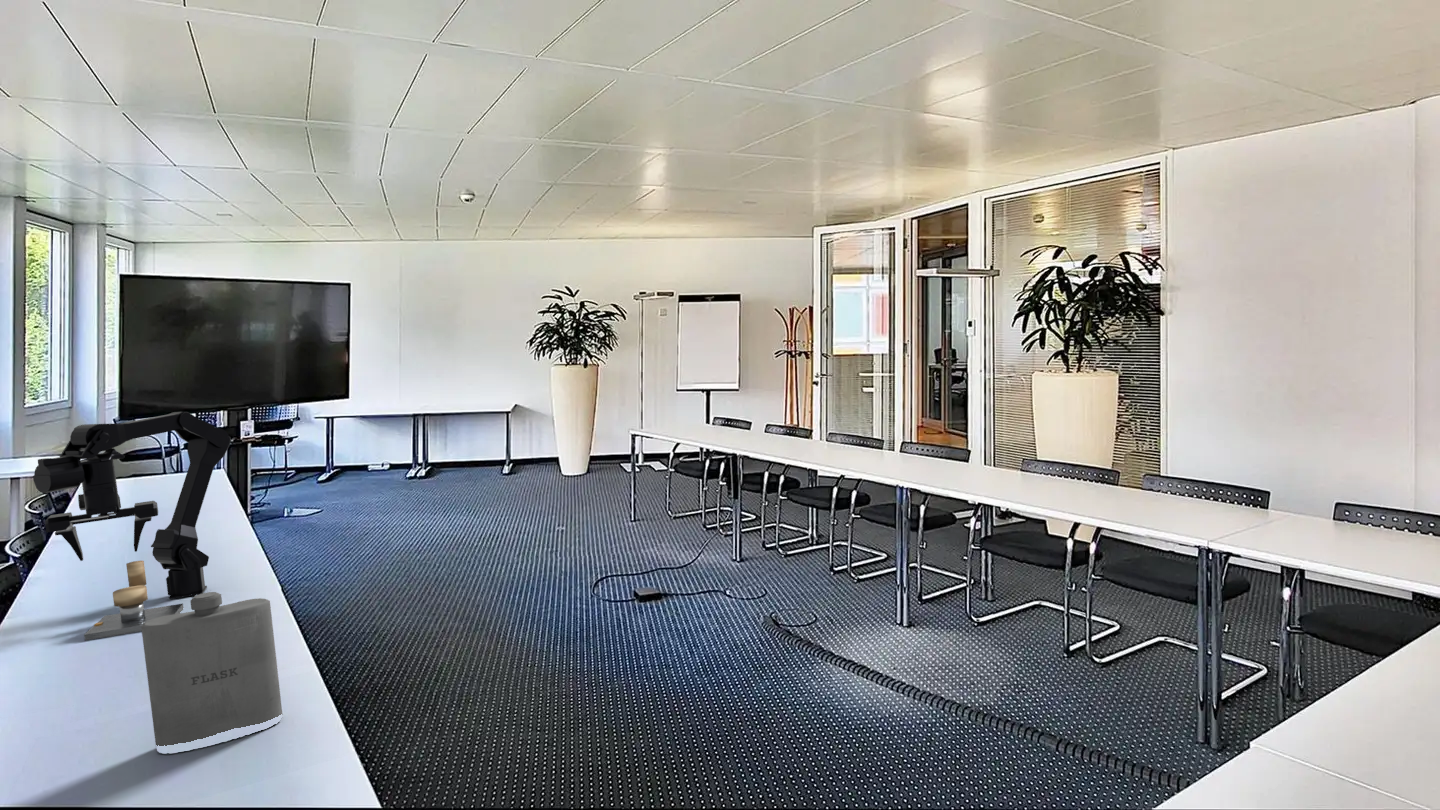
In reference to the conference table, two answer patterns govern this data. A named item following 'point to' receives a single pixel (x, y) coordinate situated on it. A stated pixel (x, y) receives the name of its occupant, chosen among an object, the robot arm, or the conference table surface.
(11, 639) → the conference table surface
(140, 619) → the base
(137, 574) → the crank handle
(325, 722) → the conference table surface
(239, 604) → the flask
